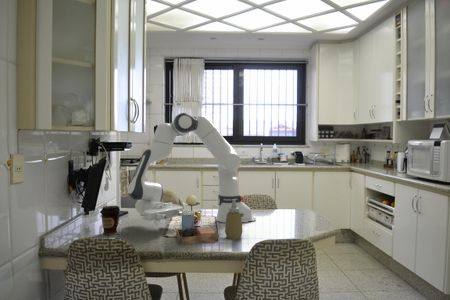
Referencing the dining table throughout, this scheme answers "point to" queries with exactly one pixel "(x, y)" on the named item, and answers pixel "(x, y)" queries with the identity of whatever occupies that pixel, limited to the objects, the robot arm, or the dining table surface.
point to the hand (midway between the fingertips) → (173, 215)
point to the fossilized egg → (170, 197)
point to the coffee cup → (110, 219)
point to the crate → (195, 237)
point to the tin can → (188, 224)
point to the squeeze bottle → (233, 223)
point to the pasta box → (205, 231)
